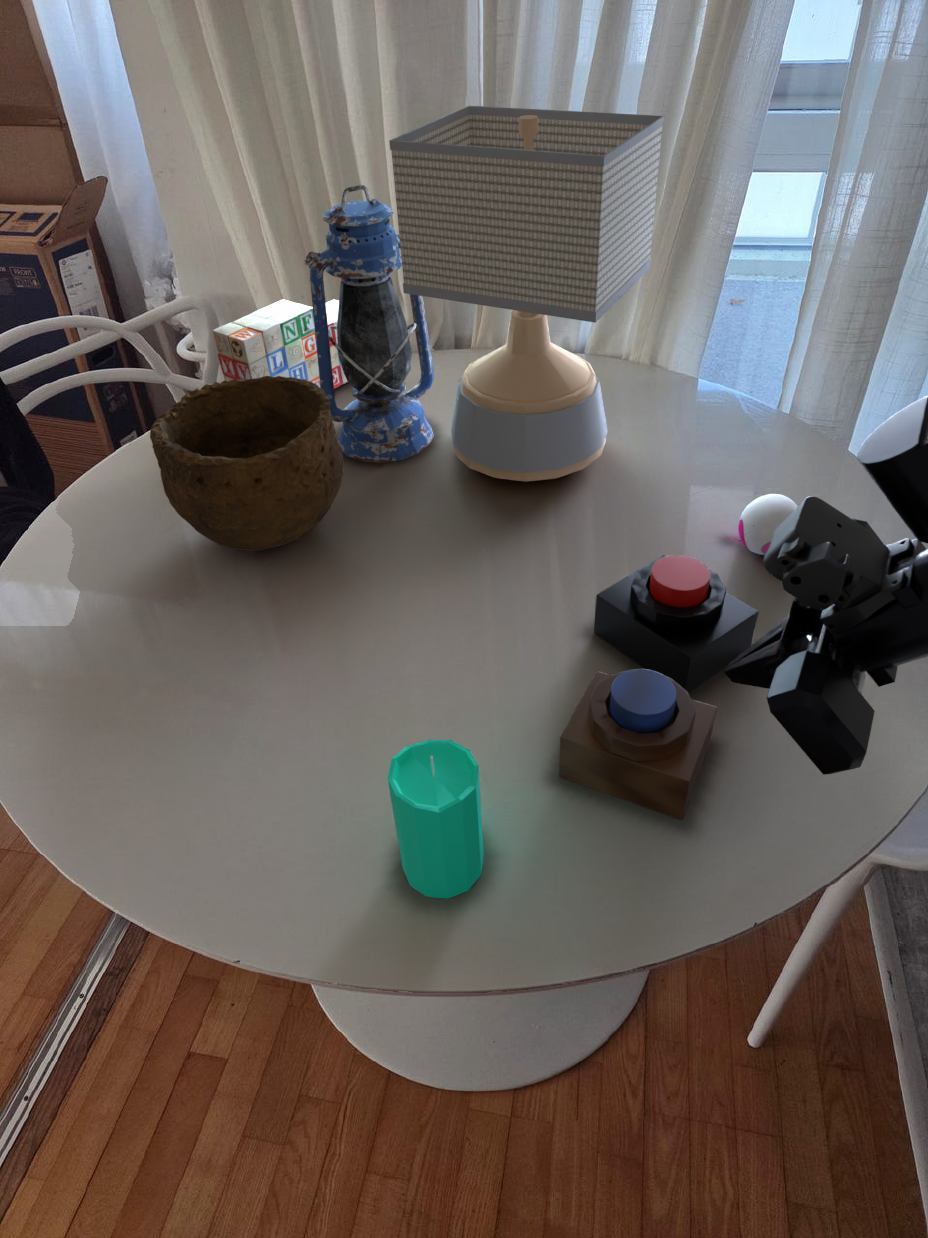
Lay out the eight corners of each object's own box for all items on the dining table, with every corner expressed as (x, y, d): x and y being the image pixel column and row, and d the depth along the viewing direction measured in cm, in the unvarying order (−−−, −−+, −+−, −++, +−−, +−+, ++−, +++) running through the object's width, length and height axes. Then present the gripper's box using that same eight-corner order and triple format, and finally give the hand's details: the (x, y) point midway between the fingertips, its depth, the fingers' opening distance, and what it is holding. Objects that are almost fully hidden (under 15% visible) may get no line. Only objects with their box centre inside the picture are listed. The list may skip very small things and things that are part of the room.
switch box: (750, 650, 78) (762, 595, 74) (683, 697, 74) (693, 641, 70) (658, 592, 85) (665, 539, 81) (593, 632, 81) (597, 578, 77)
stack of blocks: (343, 359, 130) (331, 277, 121) (373, 369, 126) (362, 285, 118) (232, 416, 117) (210, 328, 109) (262, 428, 114) (242, 339, 106)
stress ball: (747, 549, 95) (720, 499, 93) (819, 526, 90) (792, 473, 88) (733, 587, 89) (704, 535, 87) (809, 565, 84) (780, 510, 82)
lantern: (353, 476, 104) (313, 214, 84) (311, 436, 112) (265, 188, 92) (461, 438, 110) (446, 184, 90) (413, 402, 118) (391, 162, 98)
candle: (388, 883, 62) (368, 779, 54) (422, 818, 66) (408, 712, 58) (465, 910, 60) (456, 805, 52) (495, 841, 64) (491, 735, 56)
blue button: (681, 698, 66) (684, 679, 64) (662, 742, 63) (665, 723, 61) (621, 680, 68) (623, 661, 66) (600, 721, 64) (602, 702, 63)
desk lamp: (638, 435, 108) (670, 101, 84) (580, 513, 96) (598, 148, 72) (485, 404, 116) (474, 92, 92) (414, 472, 104) (379, 132, 80)
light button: (719, 592, 75) (722, 573, 74) (680, 616, 73) (683, 598, 72) (675, 566, 78) (678, 547, 77) (637, 588, 76) (639, 570, 75)
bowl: (197, 605, 87) (156, 478, 77) (174, 510, 100) (136, 392, 90) (374, 557, 92) (356, 432, 82) (329, 473, 105) (309, 357, 95)
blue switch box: (709, 746, 70) (721, 690, 66) (681, 820, 65) (692, 765, 60) (593, 709, 74) (597, 654, 69) (558, 776, 68) (560, 721, 64)
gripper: (898, 406, 52) (695, 516, 64) (852, 582, 40) (610, 679, 51) (995, 541, 55) (782, 624, 66) (980, 747, 42) (721, 805, 54)
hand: (729, 674), depth 59 cm, fingers closed
